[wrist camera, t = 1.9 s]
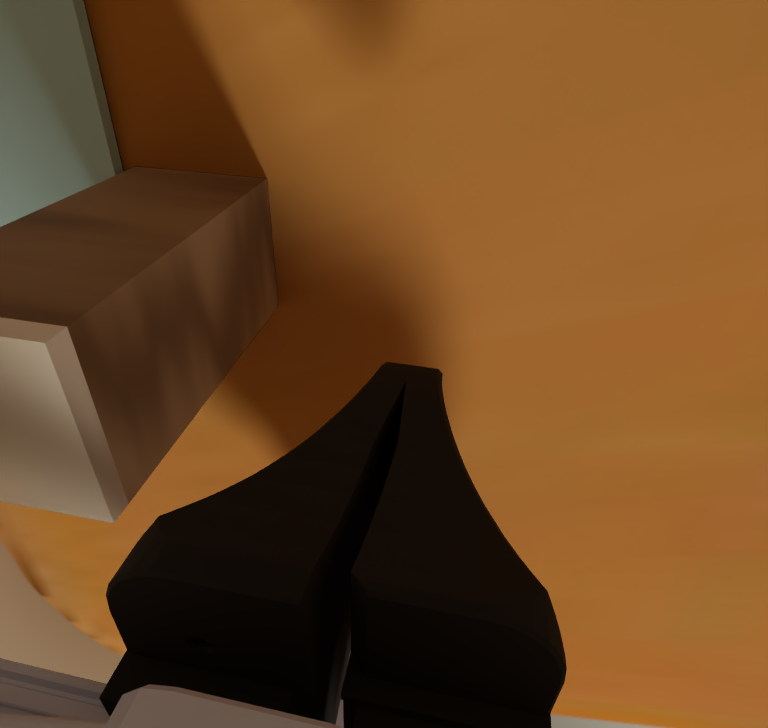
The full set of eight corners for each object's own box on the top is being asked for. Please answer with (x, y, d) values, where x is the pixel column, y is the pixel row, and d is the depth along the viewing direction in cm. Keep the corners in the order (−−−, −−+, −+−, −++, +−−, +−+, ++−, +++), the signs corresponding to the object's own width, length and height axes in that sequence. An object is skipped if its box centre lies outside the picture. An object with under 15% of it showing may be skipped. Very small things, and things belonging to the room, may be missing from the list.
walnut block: (278, 305, 22) (113, 523, 13) (163, 291, 22) (-70, 487, 13) (267, 178, 19) (44, 343, 10) (135, 166, 19) (-185, 309, 10)
